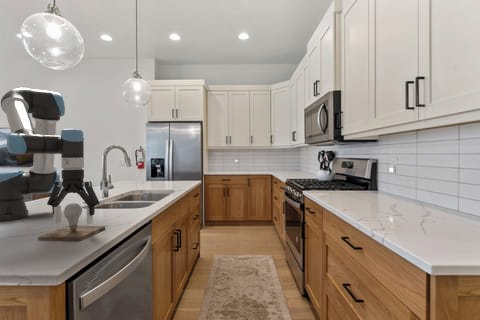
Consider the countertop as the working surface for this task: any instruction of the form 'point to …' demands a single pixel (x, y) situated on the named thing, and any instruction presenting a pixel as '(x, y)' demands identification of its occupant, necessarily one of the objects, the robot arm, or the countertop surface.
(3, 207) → the robot arm
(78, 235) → the plate
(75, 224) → the lightbulb
